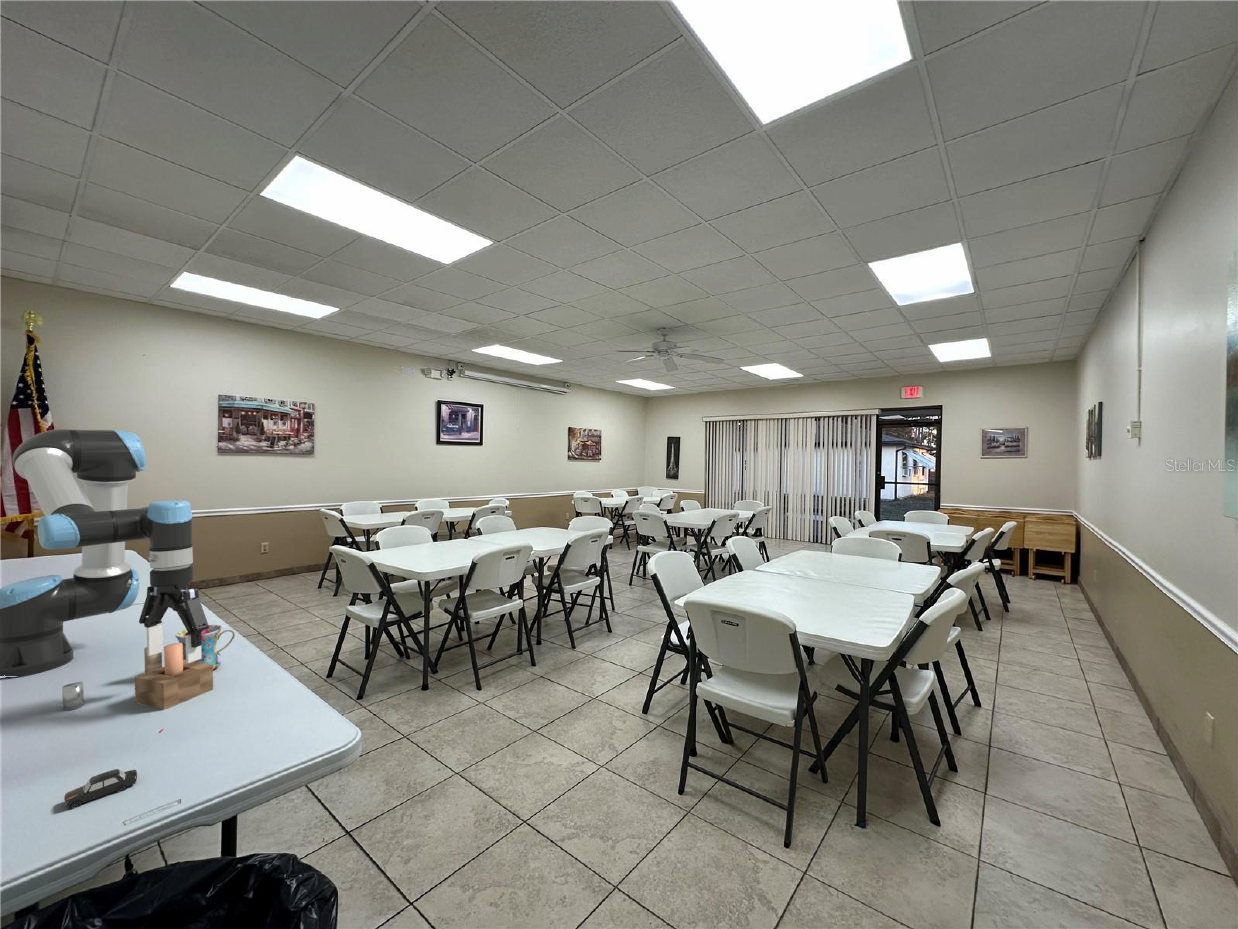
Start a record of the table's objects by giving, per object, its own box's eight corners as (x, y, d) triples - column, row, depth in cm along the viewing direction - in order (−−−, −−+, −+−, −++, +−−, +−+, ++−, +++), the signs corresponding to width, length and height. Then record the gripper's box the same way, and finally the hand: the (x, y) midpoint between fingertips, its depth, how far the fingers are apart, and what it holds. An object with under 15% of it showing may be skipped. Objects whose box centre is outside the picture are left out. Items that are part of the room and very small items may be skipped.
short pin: (59, 710, 111) (58, 687, 111) (77, 703, 114) (76, 681, 114) (69, 711, 110) (68, 688, 110) (87, 704, 113) (86, 682, 113)
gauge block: (135, 703, 114) (134, 677, 114) (185, 683, 123) (184, 659, 123) (164, 709, 110) (163, 683, 110) (213, 689, 120) (212, 664, 120)
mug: (177, 682, 124) (176, 640, 124) (175, 670, 131) (174, 630, 130) (237, 667, 132) (236, 628, 132) (233, 657, 139) (232, 619, 139)
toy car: (64, 803, 81) (63, 755, 81) (163, 768, 90) (162, 725, 90) (64, 814, 79) (62, 765, 79) (166, 777, 88) (165, 733, 87)
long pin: (162, 698, 116) (160, 647, 116) (178, 692, 119) (176, 642, 119) (171, 700, 115) (169, 648, 114) (187, 694, 118) (185, 643, 117)
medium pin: (142, 680, 125) (141, 648, 125) (157, 675, 128) (156, 644, 128) (150, 682, 124) (149, 650, 124) (165, 676, 127) (164, 645, 127)
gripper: (117, 567, 116) (120, 656, 117) (189, 574, 109) (192, 670, 109) (156, 560, 124) (158, 645, 124) (226, 567, 116) (228, 657, 116)
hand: (174, 657), depth 117 cm, fingers open, 13 cm apart
